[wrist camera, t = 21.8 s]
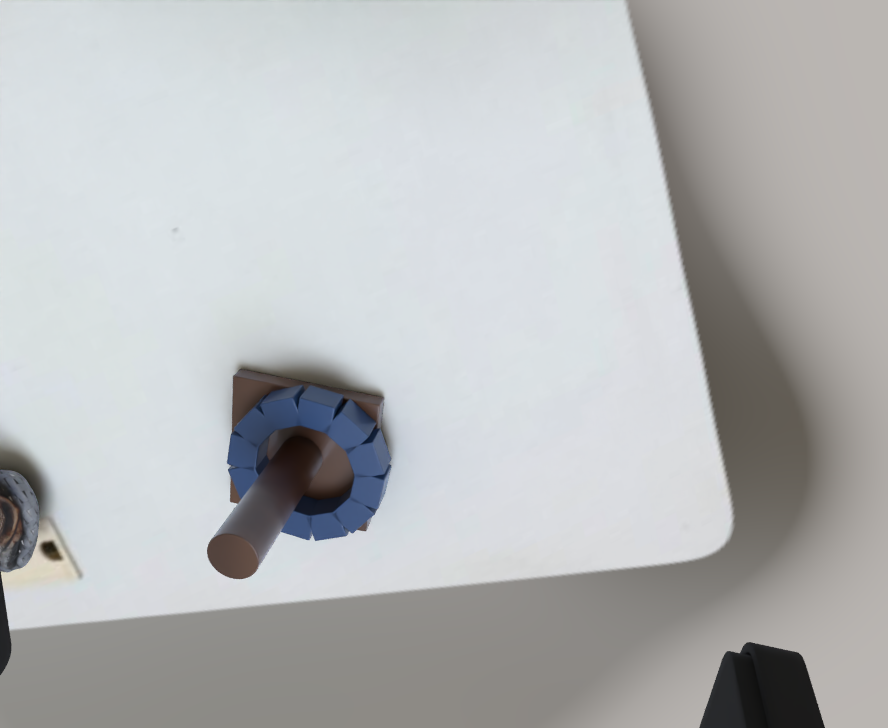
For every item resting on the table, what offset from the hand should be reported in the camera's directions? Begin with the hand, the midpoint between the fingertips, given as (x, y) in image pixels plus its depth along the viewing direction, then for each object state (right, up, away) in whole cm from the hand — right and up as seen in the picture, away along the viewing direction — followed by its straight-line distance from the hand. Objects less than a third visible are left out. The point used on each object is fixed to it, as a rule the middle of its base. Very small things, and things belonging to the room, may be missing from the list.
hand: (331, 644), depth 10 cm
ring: (-6, -2, +33) cm, 34 cm away
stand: (-6, -1, +34) cm, 35 cm away
